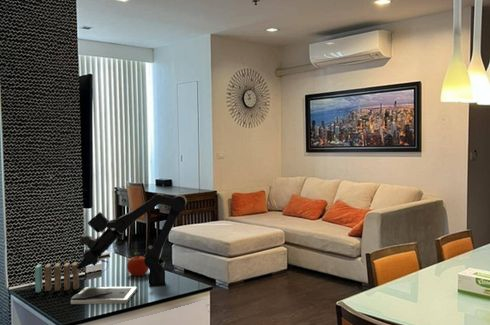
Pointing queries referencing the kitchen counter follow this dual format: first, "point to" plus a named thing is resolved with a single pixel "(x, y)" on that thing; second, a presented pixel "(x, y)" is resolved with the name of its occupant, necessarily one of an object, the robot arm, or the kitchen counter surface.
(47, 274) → the domino
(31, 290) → the kitchen counter surface
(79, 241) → the robot arm
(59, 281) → the domino
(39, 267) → the domino
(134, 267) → the fruit
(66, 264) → the domino
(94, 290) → the picture frame
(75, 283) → the domino
